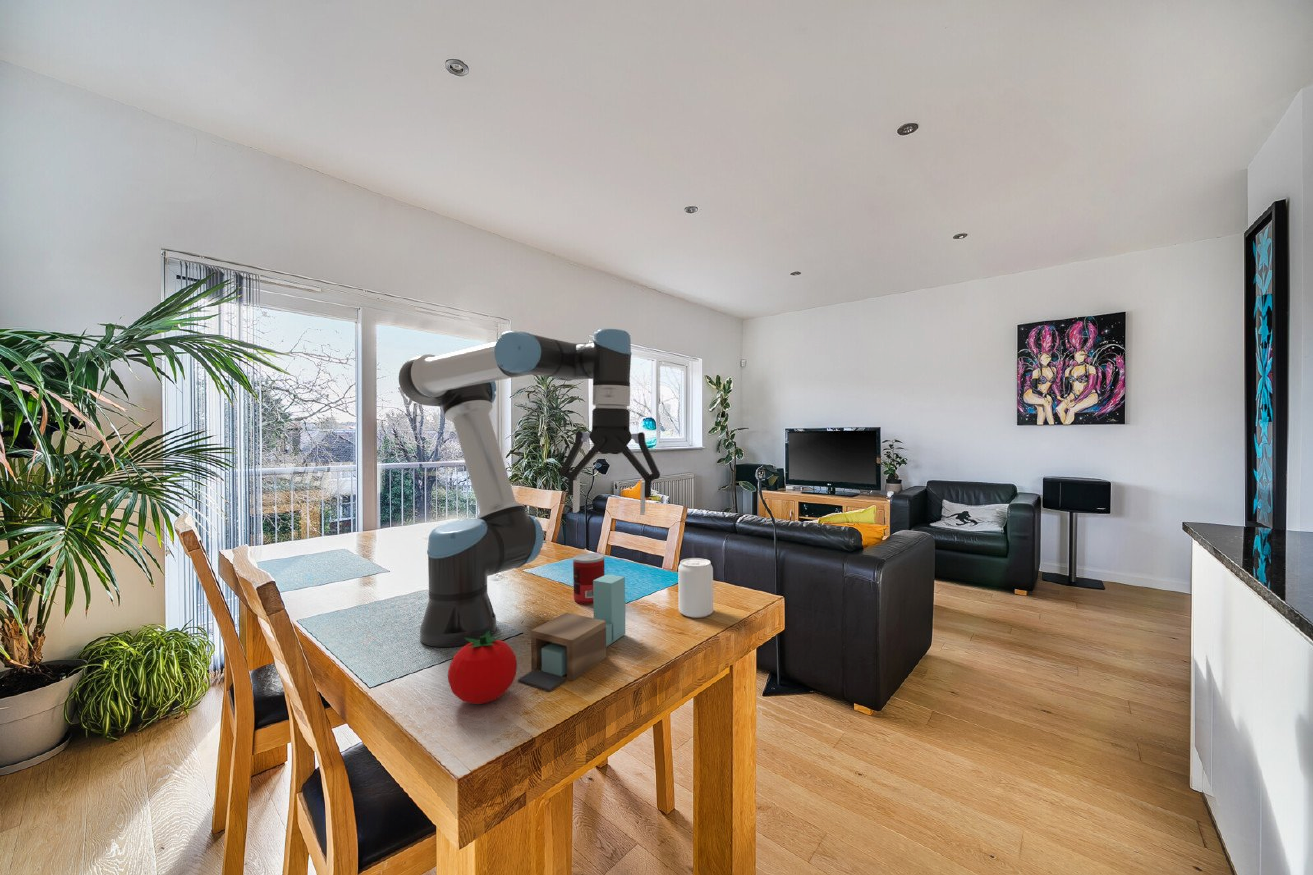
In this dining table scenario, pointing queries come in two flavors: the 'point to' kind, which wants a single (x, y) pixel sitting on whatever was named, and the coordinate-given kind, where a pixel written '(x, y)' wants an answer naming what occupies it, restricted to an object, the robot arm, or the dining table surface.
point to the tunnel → (571, 642)
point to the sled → (605, 608)
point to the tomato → (482, 670)
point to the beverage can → (695, 587)
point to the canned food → (586, 575)
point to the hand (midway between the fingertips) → (609, 512)
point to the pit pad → (541, 680)
